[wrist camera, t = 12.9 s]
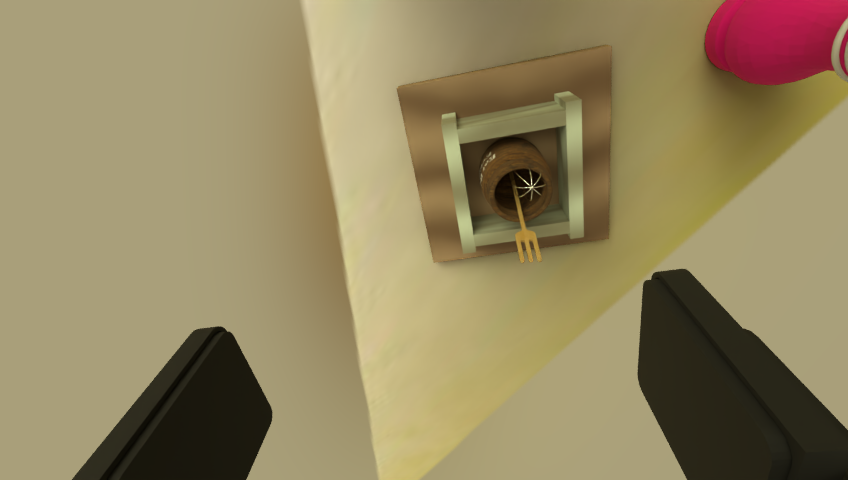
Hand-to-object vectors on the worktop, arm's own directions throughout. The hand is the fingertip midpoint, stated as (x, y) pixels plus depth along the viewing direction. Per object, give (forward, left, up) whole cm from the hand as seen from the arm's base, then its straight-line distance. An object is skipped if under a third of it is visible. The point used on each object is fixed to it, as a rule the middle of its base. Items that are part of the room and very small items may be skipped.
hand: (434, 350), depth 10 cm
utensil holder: (+7, +5, -31) cm, 32 cm away
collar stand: (+7, +5, -32) cm, 33 cm away
